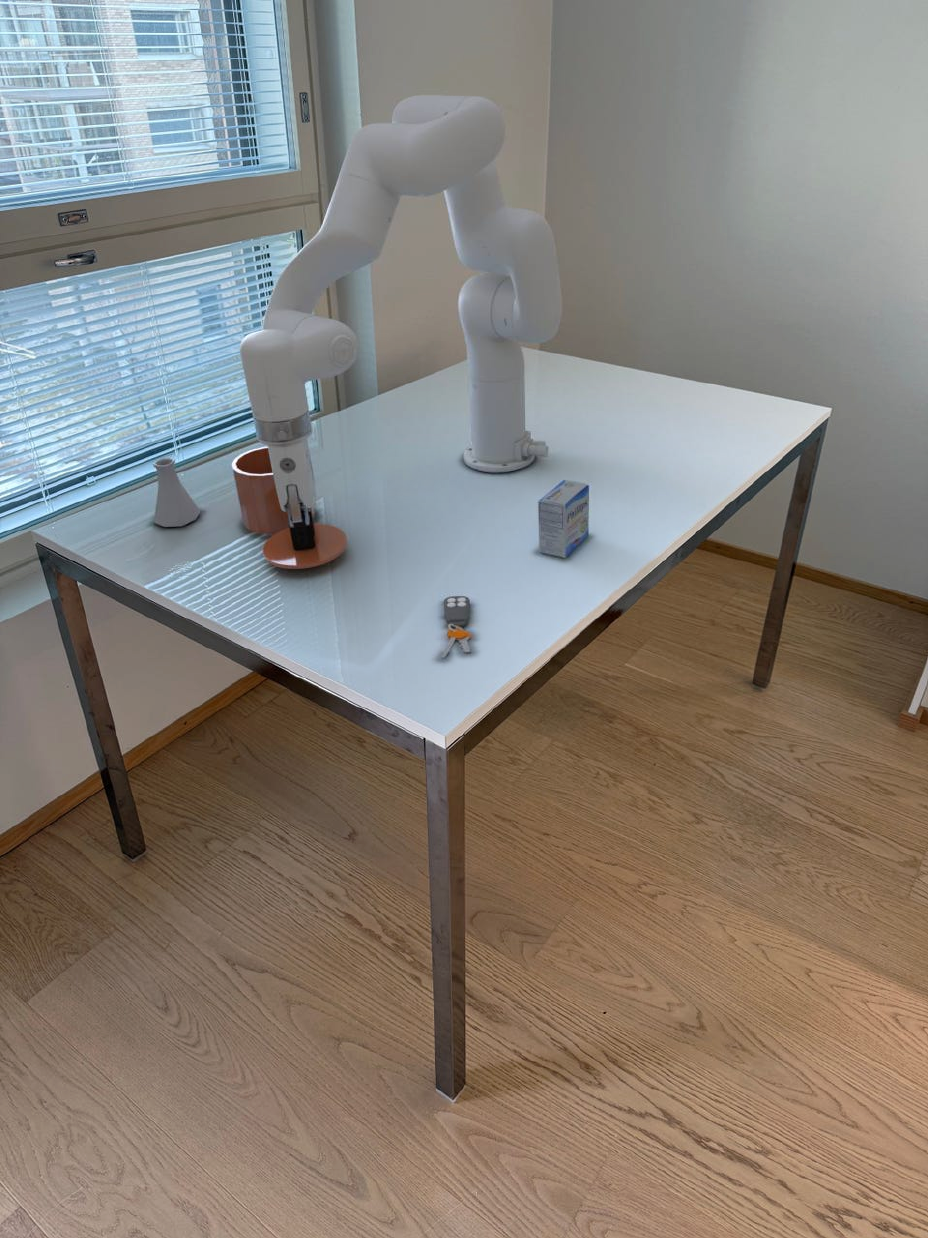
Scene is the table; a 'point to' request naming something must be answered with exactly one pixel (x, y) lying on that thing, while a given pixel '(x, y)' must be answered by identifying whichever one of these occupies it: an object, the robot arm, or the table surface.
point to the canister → (259, 493)
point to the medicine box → (563, 518)
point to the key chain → (457, 621)
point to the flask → (172, 497)
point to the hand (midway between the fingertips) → (304, 541)
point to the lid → (326, 549)
